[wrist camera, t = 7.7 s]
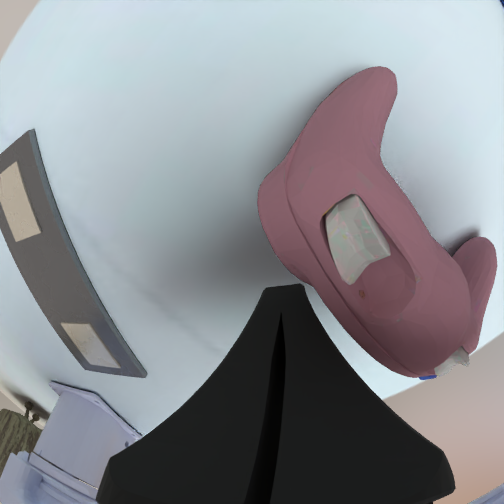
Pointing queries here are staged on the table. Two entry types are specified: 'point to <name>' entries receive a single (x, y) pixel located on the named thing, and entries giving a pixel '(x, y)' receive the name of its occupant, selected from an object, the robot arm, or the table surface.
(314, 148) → the video game controller
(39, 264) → the label panel
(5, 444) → the tabletop clock
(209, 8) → the table surface
